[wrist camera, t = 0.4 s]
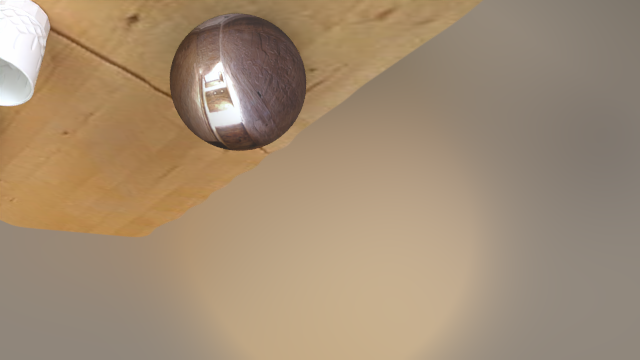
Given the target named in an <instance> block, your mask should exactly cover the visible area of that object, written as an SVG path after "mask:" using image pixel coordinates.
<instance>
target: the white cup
mask: <svg viewBox="0 0 640 360" xmlns="http://www.w3.org/2000/svg"><path fill="white" fill-rule="evenodd" d="M49 30H50V23H49V20H48V16H47V15H46V14H45V12H44V11H43V10H42V9H41V8H40V6H39V5H37V4H35V3H34V2H32V1H31V0H0V106H15V105H20V104H23V103H25V102H27V101H28V100H29V99H30V98H31V97H32V95H33V92H34V89H35V85H36V81H37V78H38V74H39V71H40V67H41V64H42V60H43V56H44V52H45V48H46V40H47V37H48V33H49Z"/></svg>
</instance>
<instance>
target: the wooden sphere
mask: <svg viewBox="0 0 640 360" xmlns="http://www.w3.org/2000/svg"><path fill="white" fill-rule="evenodd" d="M170 90H171V95H172V99H173V103H174V105H175V108H176V110H177V112H178V114H179V116H180V117H181V119H182V121H183V122H184V123H185V125H186V126H187V127H188V128H189V129H190V130H191V131H192V132H193V133H194V134H195V135H197V136H198V137H199V138H201V139H202V140H204V141H205V142H207V143H209V144H211V145H214V146H216V147H219V148H223V149H228V150H236V151H243V150H252V149H256V148H260V147H263V146H265V145H268V144H270V143H272V142H273V141H275V140H277V139H278V138H279V137H281V136H282V135H283V134H284V133H285V132H286V131H287V130H288V129H289V128H290V127H291V126H292V125H293V123H294V122H295V120H296V119H297V117H298V115H299V113H300V111H301V109H302V106H303V103H304V99H305V94H306V74H305V69H304V65H303V61H302V59H301V56H300V54H299V52H298V50H297V48H296V47H295V45H294V44H293V42H292V41H291V40H290V38H289V37H288V36H287V35H286V34H285V33H284V32H283V31H282V30H280V29H279V28H278V27H276V26H275V25H273V24H272V23H270V22H268V21H266V20H264V19H262V18H259V17H256V16H252V15H247V14H226V15H221V16H217V17H214V18H211V19H209V20H207V21H205V22H203V23H201V24H200V25H198V26H197V27H196V28H194V29H193V30H192V31H191V32H190V33H189V34H188V35H187V36H186V37H185V38H184V40H183V41H182V43H181V44H180V46H179V47H178V49H177V51H176V53H175V56H174V59H173V62H172V66H171V71H170Z"/></svg>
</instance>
